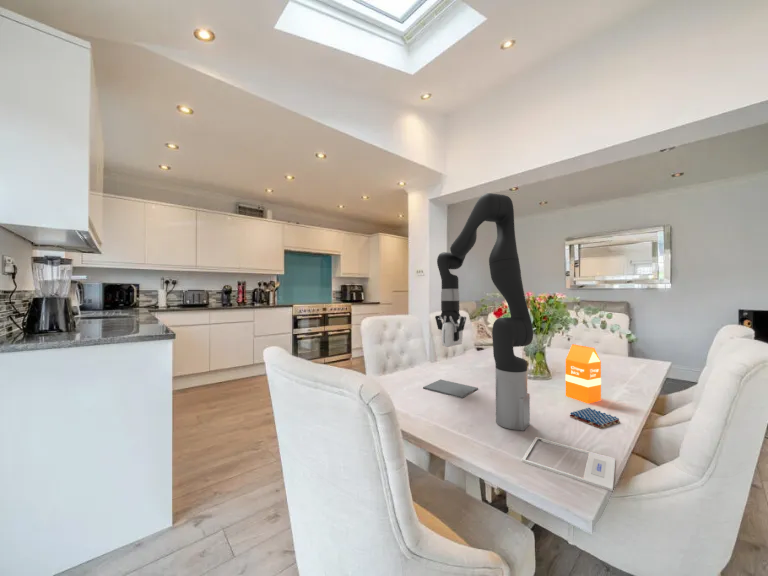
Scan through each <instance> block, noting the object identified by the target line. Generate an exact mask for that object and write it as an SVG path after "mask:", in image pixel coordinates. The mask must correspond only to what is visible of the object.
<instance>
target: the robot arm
mask: <svg viewBox="0 0 768 576" xmlns="http://www.w3.org/2000/svg"><path fill="white" fill-rule="evenodd" d="M513 203H514V202H513V201H512V198H511V197H510V196H509V195H505V194H498V193H494V192H493V193H492V192H491V193H490V192H486V193H484V194H482V195H480V197H479V198H478V200H477V201H476V203H475V204H474V206H473V209H472V211H471V212H470V214H469V216H468V218H467V221H466V222H465V224H464V227H463V228H462V230H461V232H460V233H459V234H458V236H457V237H456V238H455V240H454V241H453V242H452V244H451V245H450V247H449V250H450V252H441V253H439V254H438V255H437V258H436V264H437V268H438V272H439V276H440V279H441V291H440V307H441V308H440V310H441V312H440V313H441V314H440V315H435V318H434V319H435V322H436V326H437V329H438V330H440V331H442V328H443V324H444V323H447V322H451V323H452V324H453V327H454V341H458V340H459V332H460V331H462V330H463V331H464V329H465V325H466V321H467V317H466V316H462V315H461V313H460V291H459V287H460V286H459V277H458V275H456V274H452V273H451V272H450V270H458V269H460V268H461V267H462V266H463V264H464V261H465V260H466V256H467V255H468V253H469V252H470V251H471V250H472V249H473V247H475V245H476V241H477V234H478V233H477V232H478V228H479V227H480V225H482V224H483V223H484V222H491V223H495V226H496V240H495V242H494V245H493V248H492V249H491V251H490V254H489V257H488V266H489V271H490V278H491V281H492V283H493V285H494V286H495V288H496V289H497V290H498V291H499V293H500V294H501V296H502V297H503V298H504V300H505V301H506V303H507V306H508V310H509V314H510V317H499V318H497V319H496V320H495V321H494V322H493V324H492V329H491V330H492V331H491V332H492V333H491V337H492V349H493V353H492V354H493V359H494V363H495V423H496V424H497V425H499V426H500V427H502V428H505V429H509V430H515V431H516V430H517V431H518V430H519V431H522V432H523V431H525V430H526V429H527V428H528V426H529V425H531V415H530V414H531V413H530V412H531V411H530V410H531V409H530V408H531V405H530V404H531V403H530V401H531V400H530V399H531V398H530V397H531V396H530V393H528V361H527V360H526V359H524V358H522V357H519V356H516V355H515V349H514V348H517V347H520V348H521V347H528V346H529V345H530V344H532V342H533V338H534V328H533V323H532V319H531V315H530V312H529V308H528V304H527V300H526V295H525V290H524V285H523V279H522V272H521V265H520V259H519V254H518V247H517V240H516V239H517V238H516V231H515V230H516V229H515V211H514V205H513ZM458 321H460V323H459V324H458ZM455 323H456V324H455Z"/></svg>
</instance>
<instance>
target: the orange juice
mask: <svg viewBox="0 0 768 576" xmlns="http://www.w3.org/2000/svg"><path fill="white" fill-rule="evenodd" d="M565 397H568V398H571V399H573V400H576V401H579V402H582V403H585V404H592V403H596V402H600V401H602V361H601V359H600V357H599V355H598V353H597V350H596V348H595V347H592V346H591V347H590V346H586V345H585V346H584V345H580V344H571V346H570V348H569V351H568V353H567V356H566V358H565Z"/></svg>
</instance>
